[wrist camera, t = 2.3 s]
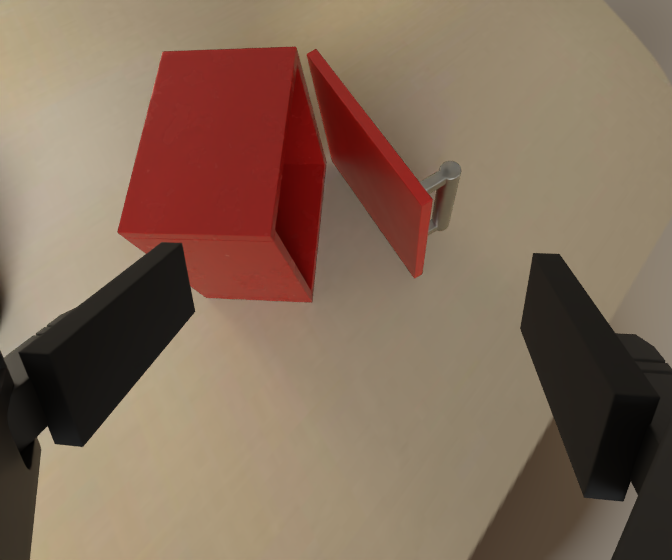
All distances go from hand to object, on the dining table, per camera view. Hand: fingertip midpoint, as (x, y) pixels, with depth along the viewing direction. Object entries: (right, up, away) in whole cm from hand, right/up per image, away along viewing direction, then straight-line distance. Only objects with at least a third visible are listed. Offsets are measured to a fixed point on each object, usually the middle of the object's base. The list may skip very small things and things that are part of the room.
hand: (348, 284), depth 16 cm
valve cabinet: (-7, +5, +27) cm, 29 cm away
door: (+5, +7, +26) cm, 27 cm away
